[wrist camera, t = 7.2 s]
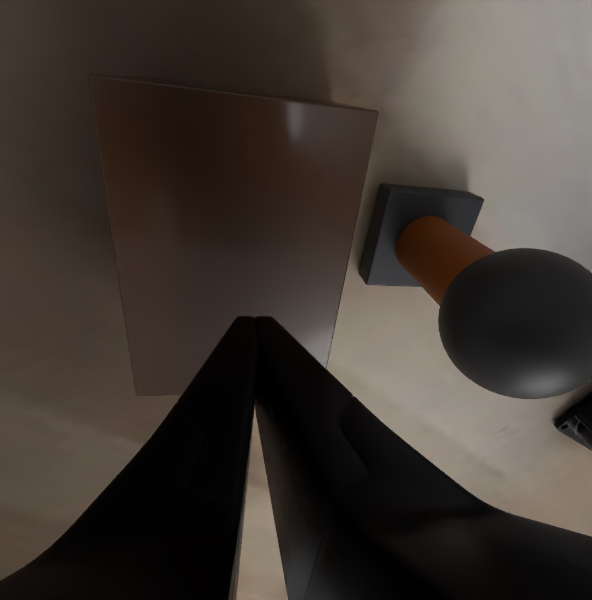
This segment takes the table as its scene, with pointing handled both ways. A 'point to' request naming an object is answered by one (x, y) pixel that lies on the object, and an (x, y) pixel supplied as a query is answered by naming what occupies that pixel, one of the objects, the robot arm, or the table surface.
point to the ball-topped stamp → (485, 293)
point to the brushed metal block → (225, 215)
